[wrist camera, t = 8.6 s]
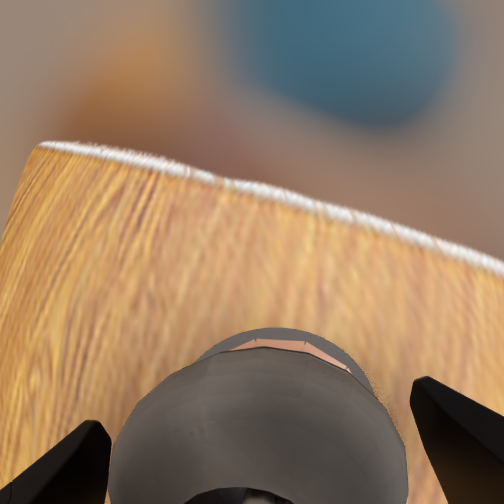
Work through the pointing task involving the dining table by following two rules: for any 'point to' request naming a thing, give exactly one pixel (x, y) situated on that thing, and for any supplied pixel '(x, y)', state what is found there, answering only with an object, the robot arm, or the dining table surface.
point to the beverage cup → (259, 436)
